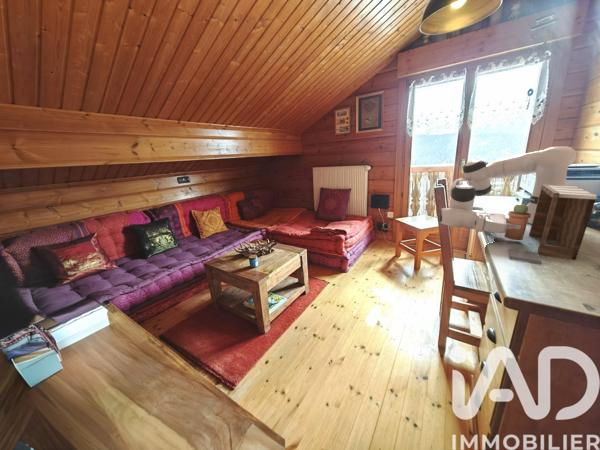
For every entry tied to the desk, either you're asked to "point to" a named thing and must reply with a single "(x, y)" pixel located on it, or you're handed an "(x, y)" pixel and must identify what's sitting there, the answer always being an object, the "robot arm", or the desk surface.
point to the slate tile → (524, 255)
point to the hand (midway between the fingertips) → (519, 224)
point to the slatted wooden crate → (562, 219)
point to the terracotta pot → (518, 222)
